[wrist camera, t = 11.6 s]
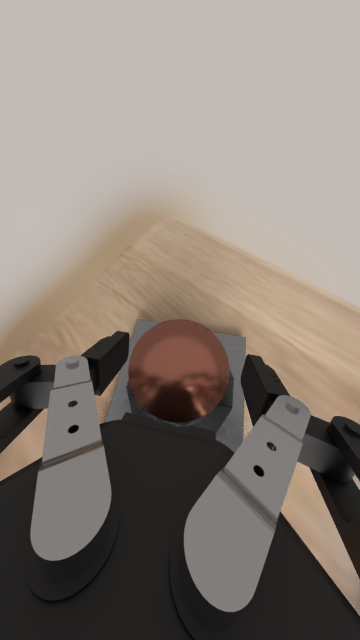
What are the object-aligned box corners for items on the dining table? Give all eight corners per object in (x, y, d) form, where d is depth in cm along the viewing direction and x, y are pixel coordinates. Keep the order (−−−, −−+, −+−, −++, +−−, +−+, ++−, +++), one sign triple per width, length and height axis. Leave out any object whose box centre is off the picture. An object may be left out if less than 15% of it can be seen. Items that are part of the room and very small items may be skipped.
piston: (205, 366, 18) (232, 327, 9) (199, 417, 16) (226, 433, 7) (161, 359, 18) (143, 313, 9) (150, 407, 16) (114, 410, 7)
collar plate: (242, 340, 20) (252, 330, 17) (238, 474, 15) (251, 490, 12) (139, 322, 21) (133, 310, 18) (101, 443, 16) (86, 451, 13)
